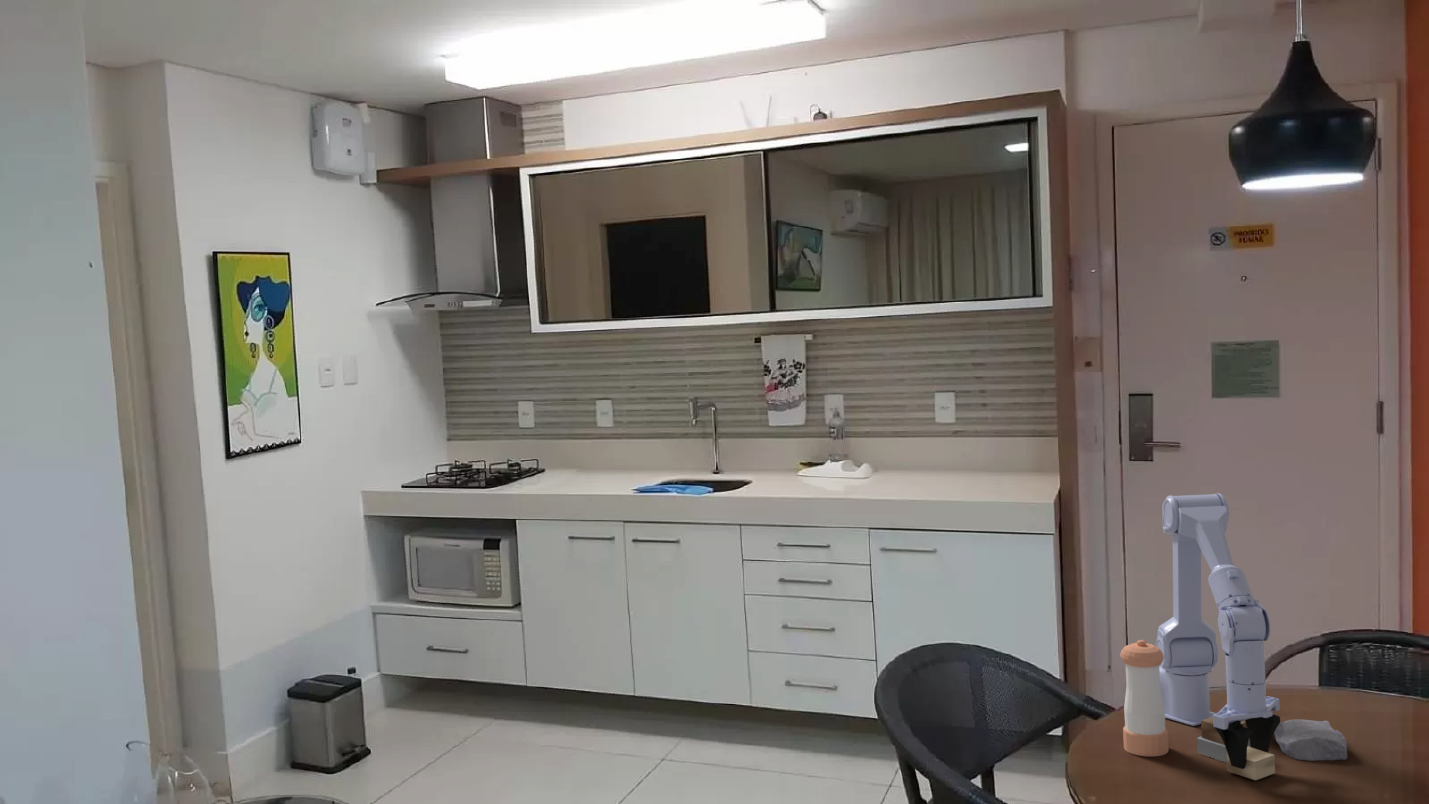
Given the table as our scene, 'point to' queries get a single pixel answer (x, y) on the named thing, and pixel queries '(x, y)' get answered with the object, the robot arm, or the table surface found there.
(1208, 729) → the walnut block
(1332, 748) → the stone block
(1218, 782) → the table surface
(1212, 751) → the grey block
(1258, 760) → the oak block
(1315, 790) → the table surface
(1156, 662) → the pepper shaker
